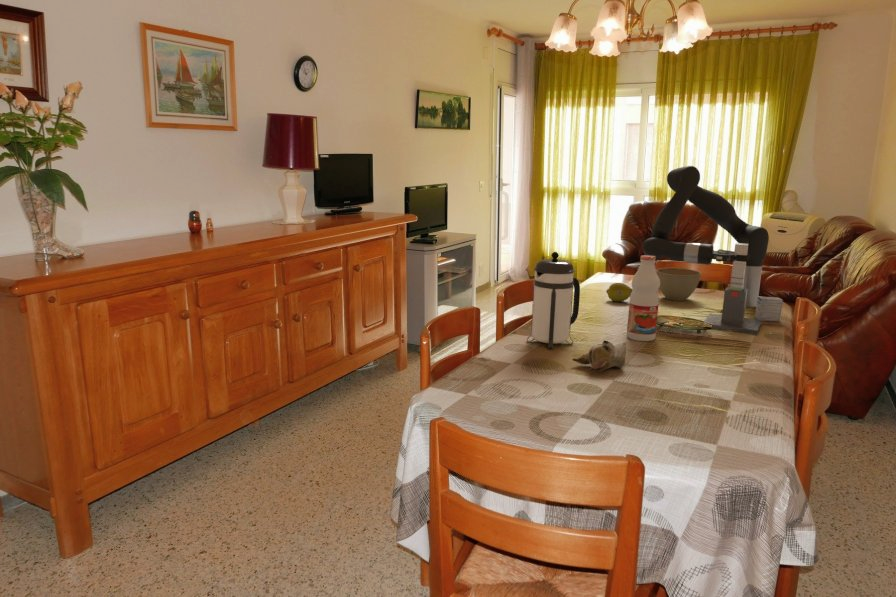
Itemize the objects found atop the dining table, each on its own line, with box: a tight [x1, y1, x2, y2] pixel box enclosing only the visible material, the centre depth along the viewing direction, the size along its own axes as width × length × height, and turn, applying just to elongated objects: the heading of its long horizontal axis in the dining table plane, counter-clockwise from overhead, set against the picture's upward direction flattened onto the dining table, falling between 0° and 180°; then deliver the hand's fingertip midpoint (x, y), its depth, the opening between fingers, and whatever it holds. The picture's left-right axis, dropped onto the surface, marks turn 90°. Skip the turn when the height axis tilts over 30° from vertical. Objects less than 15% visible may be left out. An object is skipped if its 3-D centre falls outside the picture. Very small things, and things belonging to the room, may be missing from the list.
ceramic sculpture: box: [572, 340, 627, 373], centre depth 187 cm, size 11×9×15 cm
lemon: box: [605, 282, 632, 303], centre depth 274 cm, size 11×8×8 cm
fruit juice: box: [626, 254, 660, 342], centre depth 217 cm, size 9×9×28 cm
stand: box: [703, 286, 762, 335], centre depth 238 cm, size 18×18×14 cm
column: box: [729, 242, 748, 292], centre depth 236 cm, size 4×4×22 cm
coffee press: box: [526, 251, 581, 350], centre depth 209 cm, size 17×16×30 cm
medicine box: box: [754, 296, 784, 322], centre depth 248 cm, size 8×4×9 cm, turn 84°
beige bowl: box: [656, 267, 702, 302], centre depth 282 cm, size 18×18×12 cm
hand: (748, 258), depth 233 cm, fingers closed on column, 4 cm apart
